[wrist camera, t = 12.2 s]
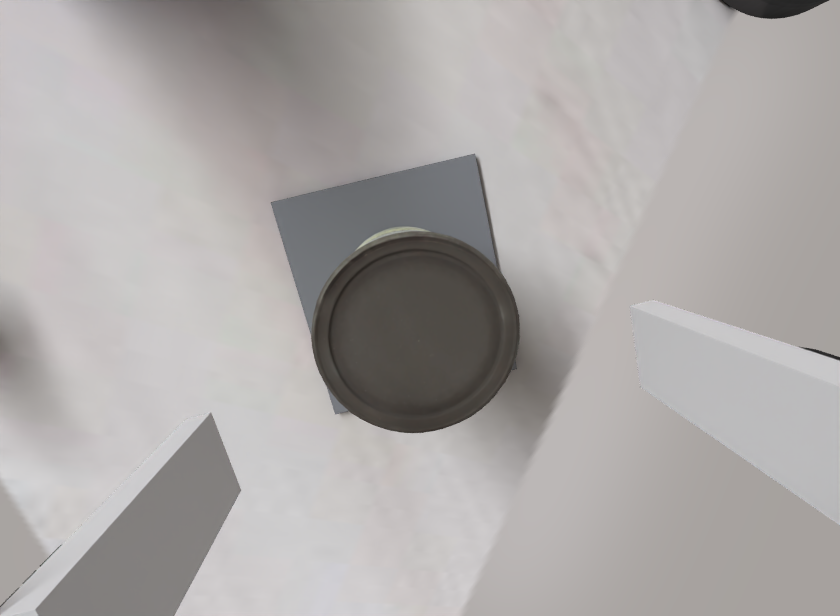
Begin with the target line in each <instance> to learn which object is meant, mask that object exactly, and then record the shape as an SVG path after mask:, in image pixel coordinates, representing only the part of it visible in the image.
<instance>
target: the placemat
mask: <svg viewBox="0 0 840 616" xmlns="http://www.w3.org/2000/svg"><path fill="white" fill-rule="evenodd" d="M271 205H272V208H273V212H274V215H275V218H276V222H277V225H278V228H279V231H280V235H281V238H282V241H283V244H284V248H285V251H286V254H287V258H288V261H289V264H290V267H291V271H292V274H293V277H294V281H295V284H296V287H297V290H298V294H299V297H300V300H301V304H302V307H303V310H304V313H305V317H306V320H307V323H308V327H309V330H310V333H311V328H312V319H313V314H314V310H315V306H316V302H317V299H318V297H319V294H320V292H321V290H322V288H323V286H324V285H325V283H326V281H327V280H328V278H329V277H330V275H331V274H332V273H333V271H334V270H335V269H336V268H337V267H338V266H339V265H340V264H341V263H342V262H343V261H344V260H345V259H346V258H347V257H348V256H349V255H350V254H352V253H353V252H354V251H356V249H357V248H358V247H359V246H360V245H361V244H362V243H363V242H364V241H365V240H367V239H368V238H370V237H371V236H373V235H374V234H376V233H378V232H381V231H383V230H385V229H389V228H394V227H417V228H421V229H425V230H428V231H430V232H435V233H440V234H444V235H448V236H451V237H454V238H456V239H459V240H461V241H463V242H465V243H467V244H469V245H470V246H472V247H474V248H475V249H477V250H478V251H480V252H481V253H482V254H483V255H485V256H486V257H487V258H488V259H489V260H490V261H491V262H492V263H493V264H494V265H495V266H496V267H497V265H496V259H495V254H494V249H493V244H492V239H491V234H490V229H489V223H488V218H487V213H486V208H485V203H484V198H483V192H482V187H481V182H480V177H479V172H478V167H477V162H476V156H475V154H472V155H467V156H463V157H459V158H455V159H451V160H446V161H442V162H438V163H434V164H430V165H425V166H421V167H417V168H413V169H409V170H404V171H400V172H396V173H392V174H388V175H384V176H379V177H375V178H371V179H367V180H363V181H358V182H354V183H350V184H346V185H342V186H337V187H333V188H329V189H325V190H321V191H316V192H312V193H308V194H304V195H300V196H295V197H291V198H287V199H283V200H279V201H274V202H271ZM514 369H517V368H516V362H515V361H514V364H513V367H512V369H511V370H514ZM327 389H328V387H327ZM328 392H329V395H330V399H331V402H332V405H333V409H334V412H335V414H339V413H343V412H347V411H348V410H347V409H346V408H345V407H344V406H343V405H342V404H341V403H340V402H339V401H338V400H337V399H336V398H335V397H334V396H333V394H332V393H331V392H330V390H329V389H328Z"/></svg>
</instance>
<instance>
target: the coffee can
mask: <svg viewBox="0 0 840 616" xmlns="http://www.w3.org/2000/svg"><path fill="white" fill-rule="evenodd" d="M311 339H312V348H313V353H314V358H315V361H316V364H317V367H318V370H319V373H320V374H321V376H322V378H323V381H324V382H325V384H326V386H327V387H328V389H329V390H330V392H331V393H332V394H333V396H334V397H335V398H336V399H337V400H338V401H339V402H340V403H341V404H342V405H343V406H344V407H345V408H346V409H347V410H348V411H350V412H351V413H352V414H354V415H356V416H357V417H359V418H360V419H362V420H364V421H366V422H368V423H370V424H372V425H375V426H378V427H380V428H384V429H387V430H391V431H397V432H404V433H423V432H429V431H435V430H439V429H443V428H446V427H449V426H452V425H455V424H457V423H460V422H461V421H463V420H465V419H467V418H469V417H471V416H472V415H474V414H475V413H477V412H478V411H479V410H481V409H482V408H483V407H484V406H485V405H486V404H487V403H489V402H490V400H491V399H492V398H493V397H494V396H495V395H496V393H497V392H498V391H499V390H500V388H501V387H502V385H503V384H504V382H505V381H506V379H507V377H508V375H509V373H510V371H511V369H512V367H513V364H514V361H515V358H516V354H517V350H518V345H519V314H518V310H517V306H516V302H515V299H514V296H513V294H512V291H511V289H510V287H509V285H508V283H507V282H506V280H505V278H504V276H503V275H502V274H501V272H500V271H499V270H498V268H497V267H496V266H495V265H494V264H493V263H492V262H491V261H490V260H489V259H488V258H487V257H486V256H485V255H483V254H482V253H481V252H480V251H478V250H477V249H475V248H474V247H472V246H470V245H469V244H467V243H465V242H463V241H461V240H459V239H456V238H454V237H451V236H448V235H444V234H440V233H435V232H430V231H428V230H425V229H421V228H417V227H394V228H389V229H385V230H383V231H381V232H378V233H376V234H374V235H373V236H371V237H370V238H368V239H367V240H365V241H364V242H363V243H362V244H361V245H360V246H359V247H358V248H357V249H356V251H354V252H353V253H352V254H350V255H349V256H348V257H347V258H346V259H345V260H344V261H343V262H342V263H341V264H340V265H339V266H338V267H337V268H336V269H335V270H334V271H333V273H332V274H331V275H330V277H329V278H328V280H327V281H326V283H325V285H324V286H323V288H322V290H321V292H320V294H319V297H318V299H317V302H316V306H315V310H314V314H313V319H312V328H311Z"/></svg>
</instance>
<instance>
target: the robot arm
mask: <svg viewBox="0 0 840 616" xmlns="http://www.w3.org/2000/svg"><path fill="white" fill-rule="evenodd" d="M723 1H724V2H725V3H727V4H728V5H729V6H731V7H733V8H734V9H736V10H738V11H740V12H742V13H745V14H747V15H750V16H754V17H759V18H769V19H773V18H774V19H775V18H785V17H790V16H794V15H798V14H800V13H803V12H806V11H808V10H810V9H812V8H814V7H816V6H818V5H820V4H822V3H824V2H827V1H829V0H723ZM630 313H631V320H632V328H633V335H634V343H635V351H636V358H637V365H638V373H639V381H640V387H641V388H642V389H644V390H645V391H647V392H648V393H649V394H651V395H652V396H654V397H655V398H657V399H658V400H660V401H661V402H662V403H664V404H665V405H667V406H668V407H670V408H671V409H673V410H674V411H675V412H677V413H678V414H680V415H681V416H683V417H684V418H686V419H687V420H688V421H690V422H691V423H693V424H694V425H696V426H697V427H699V428H700V429H701V430H703V431H704V432H706V433H707V434H709V435H710V436H712V437H713V438H715V439H716V440H717V441H719V442H721V443H722V444H723V445H724V446H726V447H728V448H729V449H730V450H732V451H733V452H735V453H736V454H737V455H739V456H741V457H742V458H743V459H745V460H746V461H748V462H749V463H750V464H752V465H753V466H755V467H756V468H758V469H759V470H761V471H762V472H764V473H765V474H766V475H768V476H769V477H771V478H772V479H774V480H775V481H776V482H778V483H780V484H781V485H782V486H784V487H785V488H787V489H788V490H789V491H791V492H792V493H794V494H796V495H797V496H798V497H800V498H801V499H803V500H804V501H806V502H807V503H808V504H810V505H811V506H813V507H814V508H815V509H817V510H818V511H820V512H821V513H823V514H824V515H826V516H827V517H828V518H830V519H831V520H833V521H834V522H836V523H837V524H839V525H840V357H837V356H834V355H831V354H828V353H825V352H822V351H819V350H816V349H809V348H803V347H796V346H793V345H790V344H787V343H784V342H781V341H778V340H775V339H772V338H769V337H766V336H762V335H760V334H757V333H754V332H750V331H747V330H744V329H741V328H738V327H735V326H732V325H729V324H726V323H723V322H720V321H717V320H714V319H711V318H708V317H705V316H702V315H698V314H695V313H692V312H689V311H686V310H683V309H680V308H677V307H674V306H671V305H668V304H665V303H662V302H659V301H656V300H651V301H647V302H643V303H639V304H635V305H631V306H630ZM240 491H241V489H240V486H239V483H238V481H237V478H236V476H235V473H234V470H233V468H232V465H231V463H230V460H229V458H228V455H227V452H226V450H225V447H224V445H223V442H222V439H221V437H220V434H219V432H218V429H217V426H216V424H215V421H214V419H213V416H212V414H211V413H207V414H203V415H199V416H195V417H191V418H187V419H185V420H184V422H183V423H182V424H181V425H180V426H179V427H178V428H177V429H176V430H175V431H174V432H173V433H172V434H171V435H170V436H169V437H168V438H167V439H166V440H165V441H164V442H163V443H162V444H161V445H160V446H159V447H158V448H157V449H156V450H155V451H154V452H153V453H152V454H151V455H150V456H149V457H148V458H147V459H146V460H145V461H144V462H143V463H142V464H141V465H140V466H139V467H138V468H137V469H136V470H135V471H134V472H133V473H132V474H131V475H130V476H129V477H128V478H127V479H126V480H125V481H124V482H123V483H122V484H121V485H120V486H119V487H118V488H117V489H116V490H115V491H114V492H113V494H112V495H111V496H110V497H109V498H108V499H107V500H106V501H105V502H104V503H103V504H102V505H101V506H100V507H99V508H98V509H97V510H96V511H95V512H94V513H93V514H92V515H91V516H90V517H89V518H88V519H87V520H86V521H85V522H84V523H83V524H82V525H81V526H80V527H79V528H78V529H77V530H76V531H75V532H74V533H73V534H72V535H71V536H70V537H69V538H68V539H67V540H66V541H65V542H64V543H63V544H62V545H60V546H59V547H58V548H57V549H56V550H55V551H54V552H53V553H52V554H51V555H50V556H49V557H48V558H47V559H46V560H45V561H44V563H42V565H40V568H39V569H38V570H36V571H34V573H33V574H32V575H31V576H30V577H29V578H28V579H27V580H26V581H25V582H24V583H23V585H22V586H21V587H20V588H18V589H17V590H16V591H15V592H14V593H13V594H12V595H11V596H10V597H9V598H8V599H7V600H6V601H5V602H4V603H3V604H2V605H1V606H0V616H174V615H175V613H176V611H177V609H178V607H179V606H180V604H181V602H182V600H183V598H184V596H185V594H186V592H187V591H188V589H189V587H190V585H191V583H192V581H193V579H194V577H195V576H196V574H197V572H198V570H199V568H200V566H201V564H202V562H203V561H204V559H205V557H206V555H207V553H208V551H209V549H210V547H211V546H212V544H213V542H214V540H215V538H216V536H217V534H218V532H219V531H220V529H221V527H222V525H223V523H224V521H225V519H226V517H227V516H228V514H229V512H230V510H231V508H232V506H233V504H234V503H235V501H236V499H237V497H238V495H239V493H240Z"/></svg>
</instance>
